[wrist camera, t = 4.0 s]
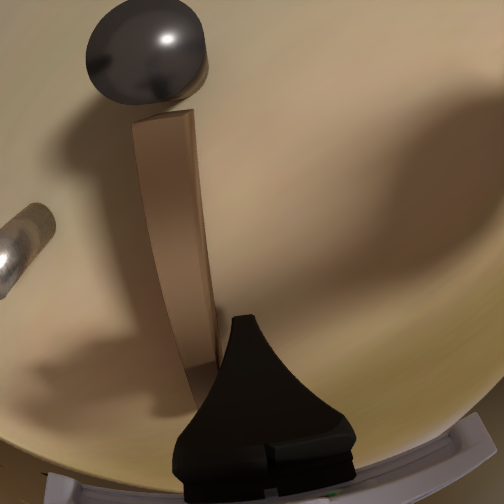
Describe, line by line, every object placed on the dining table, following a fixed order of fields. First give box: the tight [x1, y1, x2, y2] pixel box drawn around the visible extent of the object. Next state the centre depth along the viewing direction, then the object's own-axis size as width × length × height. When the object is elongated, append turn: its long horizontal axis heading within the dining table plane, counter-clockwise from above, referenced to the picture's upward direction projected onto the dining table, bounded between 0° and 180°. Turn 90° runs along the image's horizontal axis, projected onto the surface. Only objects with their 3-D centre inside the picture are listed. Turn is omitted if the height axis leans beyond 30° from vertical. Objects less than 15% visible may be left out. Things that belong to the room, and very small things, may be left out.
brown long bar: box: [131, 109, 223, 410], centre depth 12 cm, size 18×2×4 cm, turn 2°
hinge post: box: [86, 0, 209, 105], centre depth 7 cm, size 2×2×6 cm
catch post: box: [0, 203, 56, 300], centre depth 9 cm, size 2×2×4 cm
